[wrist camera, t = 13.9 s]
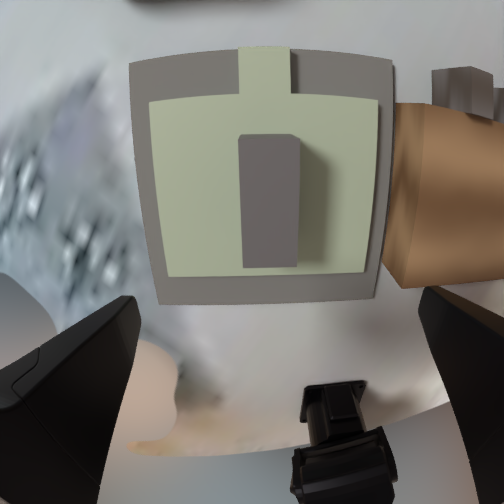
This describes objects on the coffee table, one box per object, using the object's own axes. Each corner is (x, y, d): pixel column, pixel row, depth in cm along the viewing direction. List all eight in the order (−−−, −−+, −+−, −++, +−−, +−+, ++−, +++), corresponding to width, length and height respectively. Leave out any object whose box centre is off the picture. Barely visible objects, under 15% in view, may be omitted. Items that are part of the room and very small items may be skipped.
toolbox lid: (360, 267, 22) (379, 299, 18) (171, 271, 22) (155, 305, 18) (372, 57, 16) (401, 46, 12) (151, 58, 16) (126, 47, 12)
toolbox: (524, 254, 22) (552, 276, 18) (381, 261, 23) (406, 295, 18) (546, 113, 16) (580, 121, 12) (394, 62, 16) (430, 53, 12)
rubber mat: (370, 294, 24) (372, 298, 23) (160, 300, 24) (158, 304, 24) (388, 61, 16) (392, 60, 16) (132, 64, 16) (128, 63, 16)
